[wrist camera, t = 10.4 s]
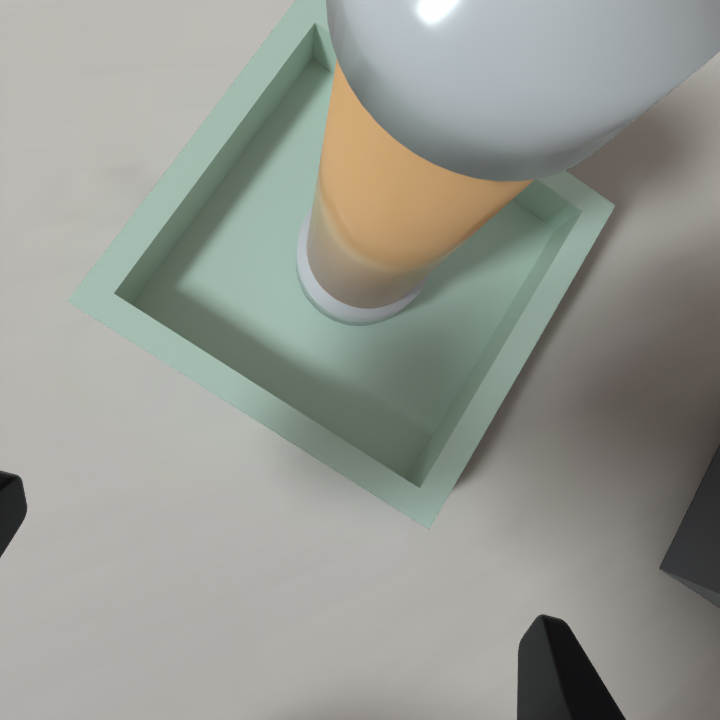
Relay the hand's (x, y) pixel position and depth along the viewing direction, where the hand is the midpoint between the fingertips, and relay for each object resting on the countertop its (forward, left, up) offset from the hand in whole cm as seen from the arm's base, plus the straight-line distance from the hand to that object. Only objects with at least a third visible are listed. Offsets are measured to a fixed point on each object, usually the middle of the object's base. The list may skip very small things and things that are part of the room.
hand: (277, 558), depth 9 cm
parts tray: (+8, +2, -11) cm, 14 cm away
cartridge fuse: (+8, +2, -10) cm, 14 cm away
